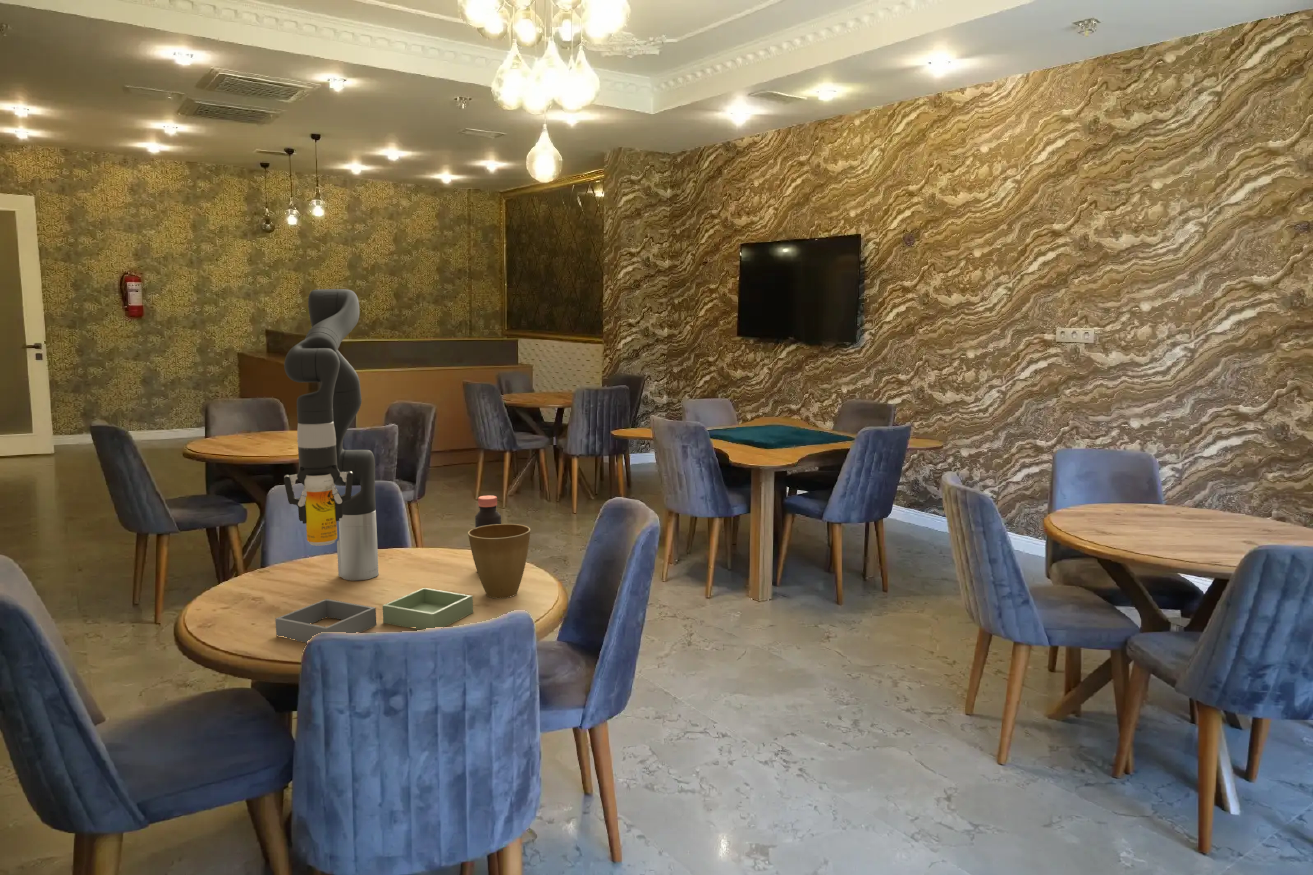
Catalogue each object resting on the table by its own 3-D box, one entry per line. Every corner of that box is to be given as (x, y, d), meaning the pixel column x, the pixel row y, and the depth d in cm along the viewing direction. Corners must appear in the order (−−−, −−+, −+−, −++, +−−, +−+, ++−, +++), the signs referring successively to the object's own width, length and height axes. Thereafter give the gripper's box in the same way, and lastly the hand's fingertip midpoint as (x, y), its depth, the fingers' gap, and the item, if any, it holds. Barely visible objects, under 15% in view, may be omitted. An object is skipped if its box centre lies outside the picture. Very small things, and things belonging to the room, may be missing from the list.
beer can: (327, 547, 187) (323, 476, 185) (301, 545, 188) (297, 475, 186) (343, 539, 193) (339, 471, 190) (317, 538, 194) (313, 470, 192)
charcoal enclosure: (276, 636, 190) (275, 618, 189) (327, 615, 203) (326, 598, 202) (327, 647, 184) (326, 628, 183) (376, 625, 197) (375, 607, 196)
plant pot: (534, 584, 226) (533, 522, 224) (528, 603, 211) (526, 537, 209) (475, 585, 225) (473, 523, 223) (464, 604, 211) (462, 538, 208)
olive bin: (383, 622, 198) (382, 605, 198) (424, 604, 211) (423, 587, 210) (433, 632, 192) (433, 614, 192) (473, 612, 205) (472, 595, 204)
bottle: (472, 573, 235) (470, 499, 232) (483, 566, 242) (481, 494, 239) (496, 575, 234) (494, 500, 231) (506, 568, 240) (504, 495, 237)
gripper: (279, 448, 181) (284, 528, 184) (353, 444, 186) (357, 522, 189) (280, 442, 188) (285, 520, 191) (352, 439, 193) (356, 515, 196)
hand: (321, 521), depth 190 cm, fingers closed on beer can, 6 cm apart
